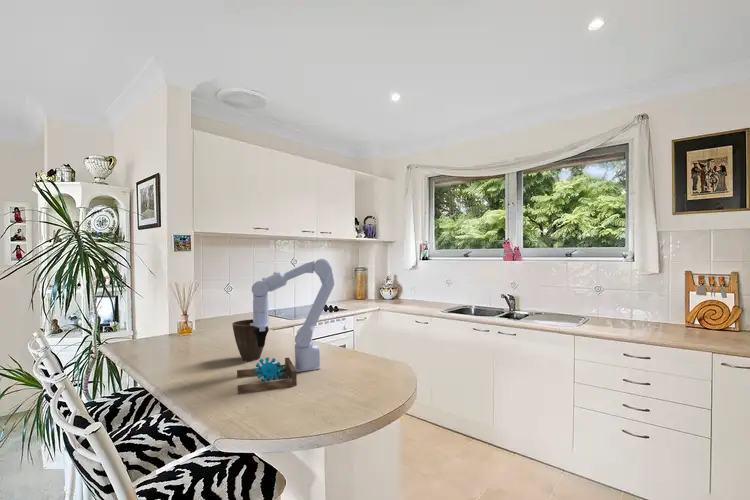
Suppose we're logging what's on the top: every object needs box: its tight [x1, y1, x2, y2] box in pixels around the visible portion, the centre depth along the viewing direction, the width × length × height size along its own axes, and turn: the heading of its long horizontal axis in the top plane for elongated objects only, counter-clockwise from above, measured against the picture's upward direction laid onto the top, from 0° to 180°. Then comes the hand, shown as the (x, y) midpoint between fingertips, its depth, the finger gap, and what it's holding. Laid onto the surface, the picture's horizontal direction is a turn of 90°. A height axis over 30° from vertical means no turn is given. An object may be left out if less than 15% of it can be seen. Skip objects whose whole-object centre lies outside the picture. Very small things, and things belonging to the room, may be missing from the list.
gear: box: [255, 356, 285, 382], centre depth 133 cm, size 11×6×10 cm
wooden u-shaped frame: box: [236, 357, 298, 395], centre depth 131 cm, size 19×18×5 cm
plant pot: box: [232, 318, 269, 362], centre depth 160 cm, size 15×15×16 cm
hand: (261, 346), depth 143 cm, fingers closed
